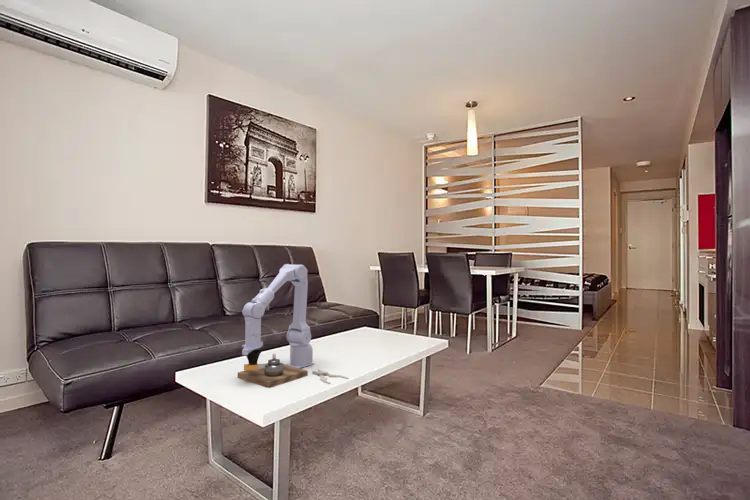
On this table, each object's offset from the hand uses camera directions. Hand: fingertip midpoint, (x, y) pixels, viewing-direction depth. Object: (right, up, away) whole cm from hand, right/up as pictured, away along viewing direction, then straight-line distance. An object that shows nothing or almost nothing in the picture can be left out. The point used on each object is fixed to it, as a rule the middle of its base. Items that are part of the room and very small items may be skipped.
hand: (252, 369), depth 156 cm
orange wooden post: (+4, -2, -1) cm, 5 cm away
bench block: (+7, -4, +4) cm, 9 cm away
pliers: (+28, -5, +4) cm, 29 cm away
